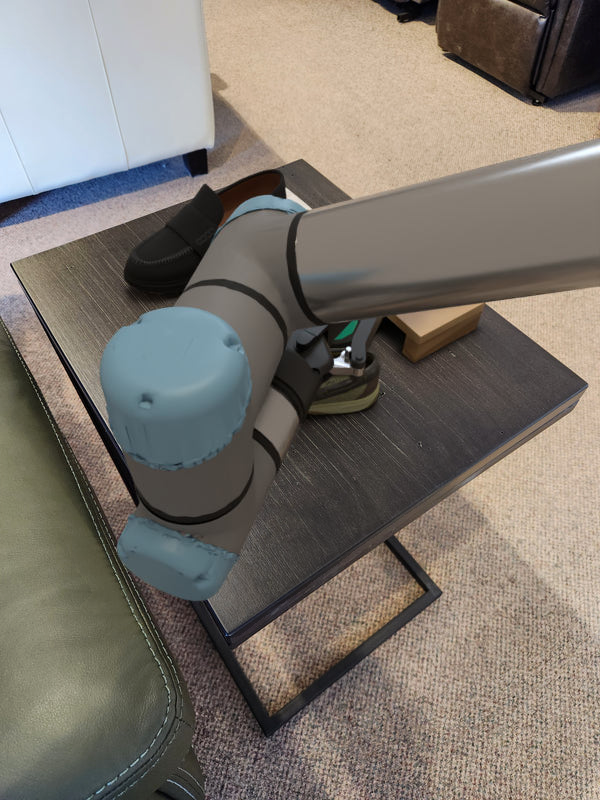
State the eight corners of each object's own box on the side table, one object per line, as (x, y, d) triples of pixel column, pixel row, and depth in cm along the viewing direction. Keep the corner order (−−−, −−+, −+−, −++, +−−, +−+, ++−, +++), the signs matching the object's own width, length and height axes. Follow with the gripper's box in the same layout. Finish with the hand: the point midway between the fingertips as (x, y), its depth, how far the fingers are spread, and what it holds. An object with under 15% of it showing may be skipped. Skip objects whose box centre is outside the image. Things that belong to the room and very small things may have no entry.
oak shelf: (476, 328, 85) (485, 302, 81) (413, 363, 80) (420, 337, 76) (377, 248, 95) (381, 221, 92) (317, 275, 91) (318, 248, 87)
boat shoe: (177, 388, 76) (168, 344, 70) (363, 359, 80) (371, 314, 74) (185, 446, 70) (176, 404, 64) (385, 411, 75) (395, 368, 68)
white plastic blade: (310, 242, 96) (310, 237, 95) (260, 198, 103) (260, 192, 102) (335, 232, 98) (335, 226, 97) (284, 189, 105) (284, 183, 104)
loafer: (112, 275, 89) (94, 203, 80) (267, 218, 101) (266, 149, 91) (142, 311, 84) (126, 238, 75) (301, 247, 96) (304, 176, 86)
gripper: (166, 401, 52) (271, 249, 66) (360, 467, 48) (427, 291, 62) (152, 341, 46) (270, 188, 60) (371, 410, 42) (443, 230, 56)
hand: (350, 240), depth 61 cm, fingers closed on candle, 5 cm apart
